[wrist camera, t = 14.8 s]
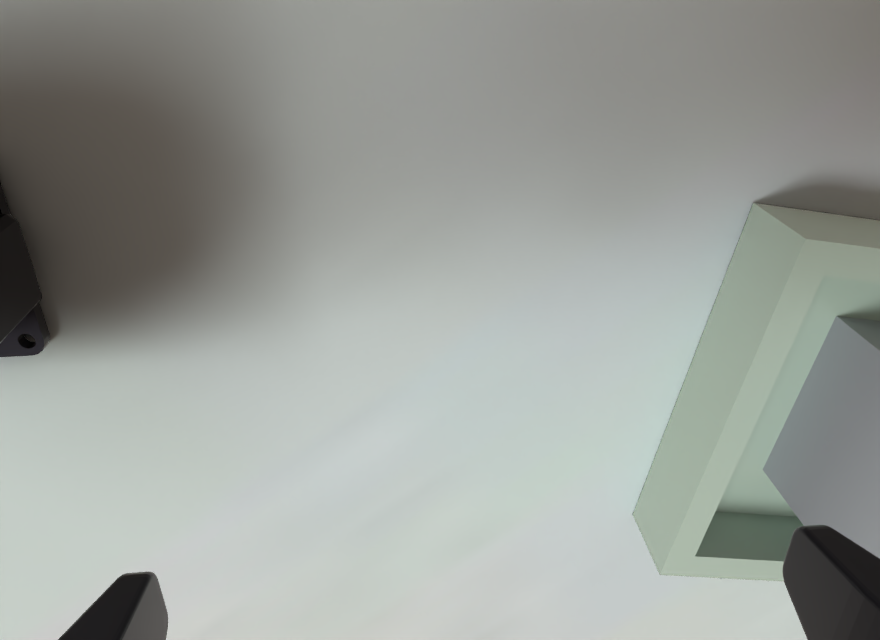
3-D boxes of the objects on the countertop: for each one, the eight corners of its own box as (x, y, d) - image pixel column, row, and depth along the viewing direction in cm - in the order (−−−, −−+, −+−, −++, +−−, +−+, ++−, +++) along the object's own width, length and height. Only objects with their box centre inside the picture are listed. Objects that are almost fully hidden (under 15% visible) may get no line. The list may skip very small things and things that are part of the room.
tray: (632, 514, 28) (659, 574, 25) (753, 202, 22) (805, 238, 19) (921, 533, 29) (975, 591, 27) (1105, 251, 23) (1197, 291, 21)
